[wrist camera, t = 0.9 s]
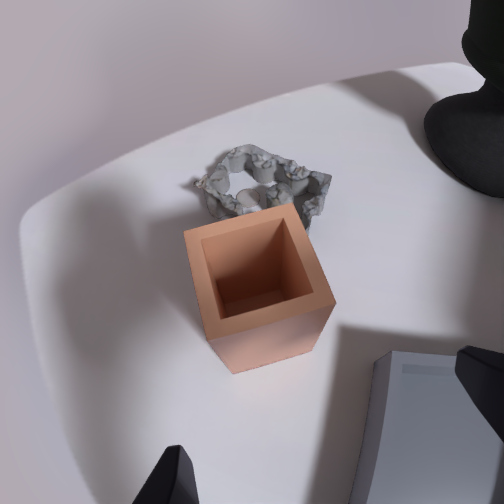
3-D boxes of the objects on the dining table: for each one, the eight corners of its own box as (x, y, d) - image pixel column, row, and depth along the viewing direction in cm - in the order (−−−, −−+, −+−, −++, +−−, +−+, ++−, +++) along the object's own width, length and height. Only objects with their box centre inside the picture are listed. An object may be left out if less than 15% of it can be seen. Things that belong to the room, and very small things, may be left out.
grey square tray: (498, 532, 12) (523, 539, 8) (332, 555, 14) (342, 576, 11) (524, 369, 20) (551, 358, 16) (374, 362, 22) (392, 350, 19)
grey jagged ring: (195, 211, 30) (186, 182, 27) (240, 162, 33) (236, 132, 30) (295, 262, 27) (297, 235, 23) (333, 201, 30) (339, 172, 26)
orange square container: (311, 350, 23) (336, 302, 14) (233, 374, 22) (207, 341, 14) (286, 281, 26) (292, 202, 17) (213, 301, 25) (183, 231, 17)
